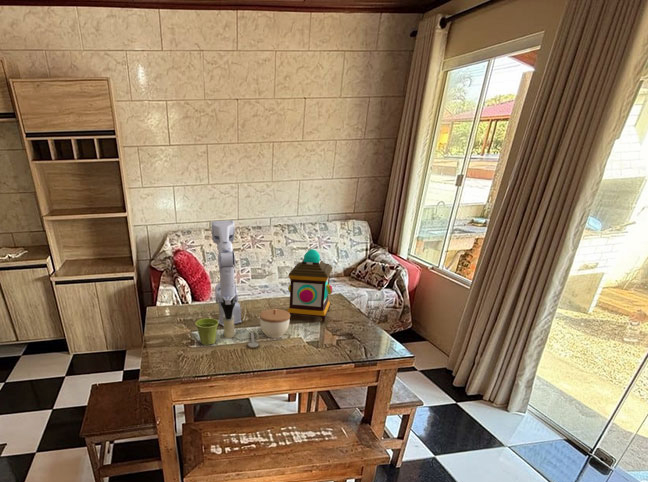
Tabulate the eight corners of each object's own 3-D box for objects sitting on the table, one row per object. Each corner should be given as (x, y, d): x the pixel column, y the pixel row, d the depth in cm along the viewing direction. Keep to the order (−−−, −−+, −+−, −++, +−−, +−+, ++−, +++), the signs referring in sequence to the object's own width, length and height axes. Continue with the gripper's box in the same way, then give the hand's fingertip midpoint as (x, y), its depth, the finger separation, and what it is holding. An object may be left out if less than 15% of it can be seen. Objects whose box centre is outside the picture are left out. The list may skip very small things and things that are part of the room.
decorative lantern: (291, 306, 201) (294, 243, 186) (332, 309, 195) (338, 245, 180) (282, 320, 185) (284, 253, 170) (326, 324, 179) (333, 255, 164)
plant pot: (222, 338, 170) (221, 319, 165) (214, 348, 162) (213, 328, 158) (202, 336, 173) (200, 317, 168) (193, 345, 165) (191, 325, 161)
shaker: (231, 332, 175) (230, 312, 171) (236, 336, 171) (236, 316, 167) (222, 335, 173) (221, 315, 169) (227, 338, 170) (226, 318, 165)
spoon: (247, 333, 174) (247, 331, 173) (257, 332, 174) (257, 331, 173) (247, 348, 161) (247, 346, 160) (259, 348, 160) (259, 346, 160)
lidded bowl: (293, 330, 174) (294, 306, 169) (284, 342, 164) (284, 316, 159) (265, 327, 179) (265, 303, 174) (255, 338, 169) (254, 313, 164)
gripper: (237, 288, 155) (238, 321, 161) (237, 277, 167) (237, 309, 174) (219, 289, 155) (220, 322, 162) (220, 278, 168) (221, 309, 174)
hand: (228, 315), depth 168 cm, fingers open, 7 cm apart
